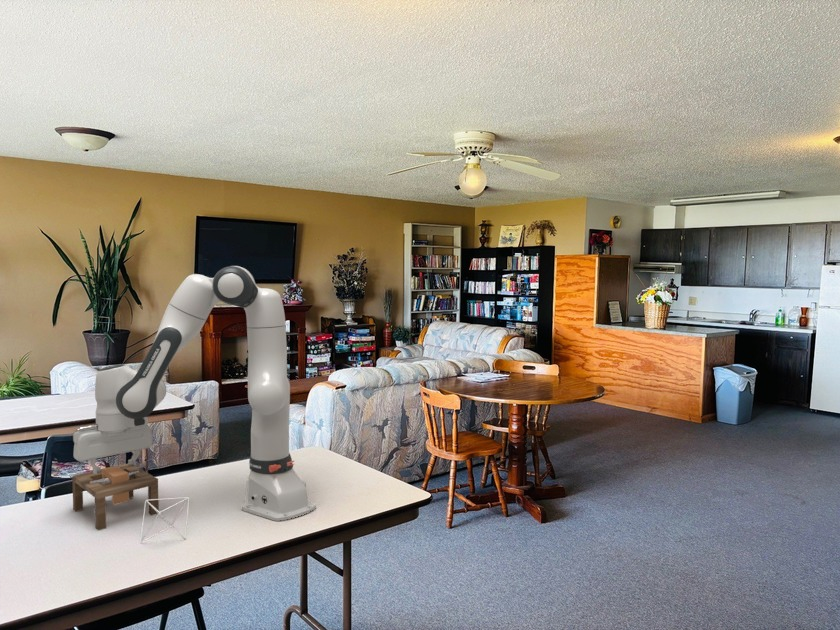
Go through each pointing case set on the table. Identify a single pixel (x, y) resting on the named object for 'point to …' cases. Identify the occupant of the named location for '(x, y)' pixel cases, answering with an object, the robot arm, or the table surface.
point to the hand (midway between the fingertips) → (114, 469)
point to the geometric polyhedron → (164, 519)
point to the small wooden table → (112, 491)
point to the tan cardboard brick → (116, 477)
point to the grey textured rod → (107, 480)
